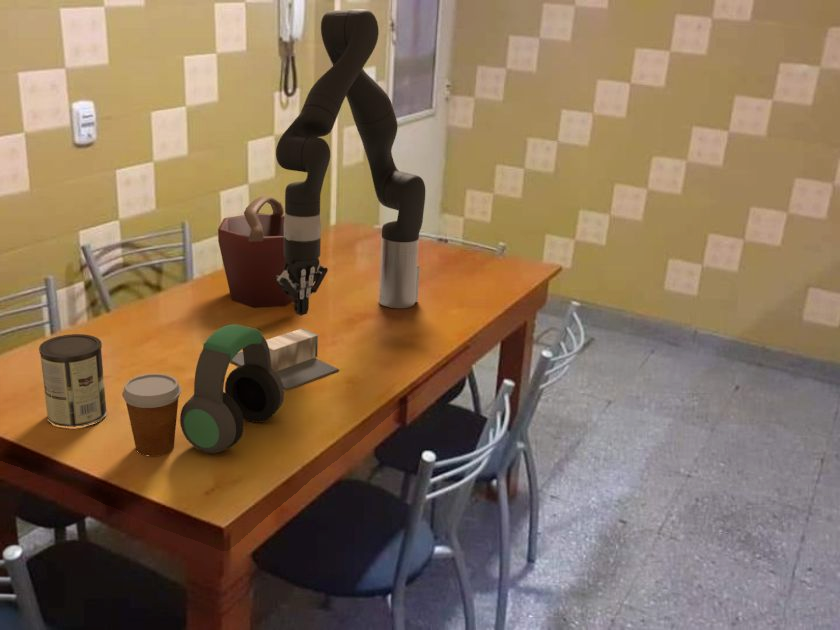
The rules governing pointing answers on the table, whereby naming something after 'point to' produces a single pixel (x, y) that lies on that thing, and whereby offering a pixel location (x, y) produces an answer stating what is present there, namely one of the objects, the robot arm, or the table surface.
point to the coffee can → (73, 380)
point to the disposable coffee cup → (152, 412)
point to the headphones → (230, 389)
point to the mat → (297, 371)
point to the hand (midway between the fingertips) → (301, 313)
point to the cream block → (292, 348)
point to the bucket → (255, 255)
